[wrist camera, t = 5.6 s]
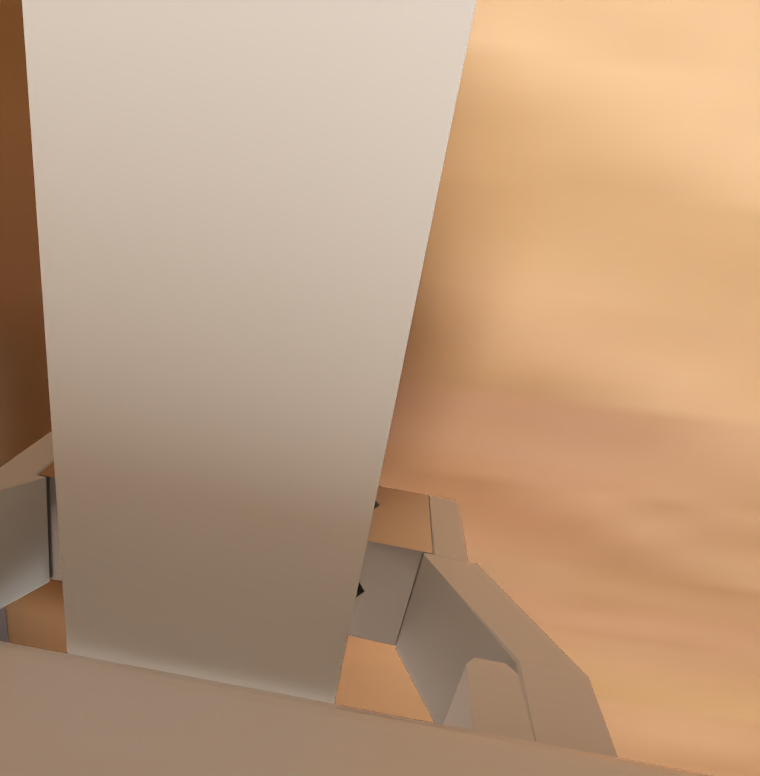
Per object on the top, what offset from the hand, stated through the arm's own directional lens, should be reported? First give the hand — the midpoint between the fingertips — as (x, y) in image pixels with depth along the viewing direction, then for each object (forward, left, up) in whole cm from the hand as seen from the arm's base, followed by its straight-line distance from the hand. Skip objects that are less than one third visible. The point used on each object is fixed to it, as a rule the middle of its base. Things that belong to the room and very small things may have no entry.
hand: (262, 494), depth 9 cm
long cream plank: (0, 0, -2) cm, 2 cm away
